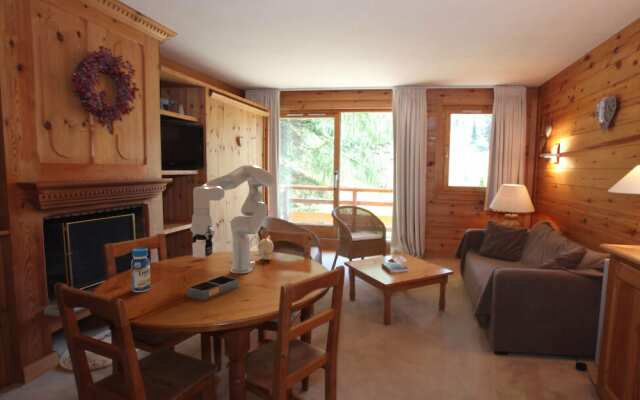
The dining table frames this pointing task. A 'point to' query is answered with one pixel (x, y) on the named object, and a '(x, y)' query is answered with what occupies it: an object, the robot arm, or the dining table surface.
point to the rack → (212, 288)
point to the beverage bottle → (140, 270)
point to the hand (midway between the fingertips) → (202, 245)
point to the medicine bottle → (201, 247)
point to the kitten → (265, 248)
